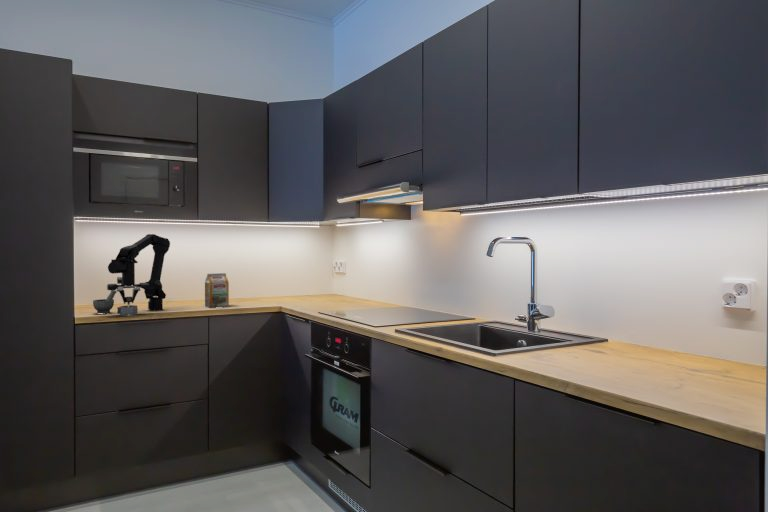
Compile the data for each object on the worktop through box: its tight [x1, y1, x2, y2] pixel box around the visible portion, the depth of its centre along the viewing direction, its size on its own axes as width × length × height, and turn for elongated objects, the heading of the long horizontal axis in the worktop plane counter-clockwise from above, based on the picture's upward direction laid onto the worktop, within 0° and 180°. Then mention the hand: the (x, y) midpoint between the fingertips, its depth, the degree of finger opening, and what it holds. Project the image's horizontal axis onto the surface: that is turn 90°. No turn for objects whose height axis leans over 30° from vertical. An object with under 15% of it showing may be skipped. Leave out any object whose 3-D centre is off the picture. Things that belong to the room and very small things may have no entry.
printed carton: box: [204, 272, 230, 309], centre depth 296 cm, size 11×11×19 cm
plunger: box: [125, 296, 132, 307], centre depth 261 cm, size 5×5×9 cm
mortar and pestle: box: [92, 290, 117, 314], centre depth 267 cm, size 11×9×12 cm
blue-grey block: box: [116, 304, 139, 317], centre depth 261 cm, size 9×8×4 cm
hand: (128, 303), depth 261 cm, fingers closed on plunger, 3 cm apart
